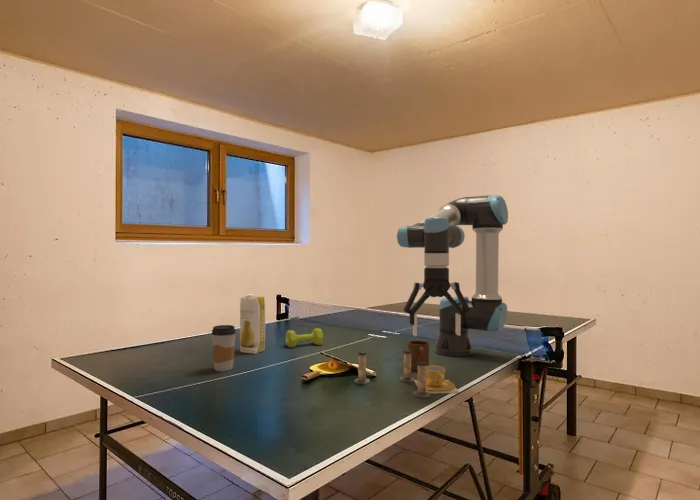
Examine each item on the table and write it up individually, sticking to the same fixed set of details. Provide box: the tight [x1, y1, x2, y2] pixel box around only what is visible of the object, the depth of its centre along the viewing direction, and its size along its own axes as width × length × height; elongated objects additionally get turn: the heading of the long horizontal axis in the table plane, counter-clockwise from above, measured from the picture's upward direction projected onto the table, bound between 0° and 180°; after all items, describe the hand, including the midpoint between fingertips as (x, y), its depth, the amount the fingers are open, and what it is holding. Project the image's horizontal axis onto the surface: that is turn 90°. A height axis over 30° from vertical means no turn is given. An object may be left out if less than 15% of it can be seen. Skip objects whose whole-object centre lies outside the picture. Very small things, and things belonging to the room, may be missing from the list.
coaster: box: [414, 379, 459, 394], centre depth 133 cm, size 11×11×1 cm
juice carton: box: [239, 293, 266, 355], centre depth 178 cm, size 9×8×24 cm
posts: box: [354, 349, 431, 399], centre depth 132 cm, size 22×20×10 cm
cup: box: [415, 365, 456, 391], centre depth 133 cm, size 12×12×5 cm
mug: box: [407, 340, 430, 372], centre depth 152 cm, size 12×8×9 cm, turn 2°
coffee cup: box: [211, 324, 237, 373], centre depth 151 cm, size 8×8×15 cm
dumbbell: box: [284, 327, 324, 349], centre depth 190 cm, size 16×8×7 cm, turn 114°
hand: (436, 335), depth 133 cm, fingers open, 13 cm apart
